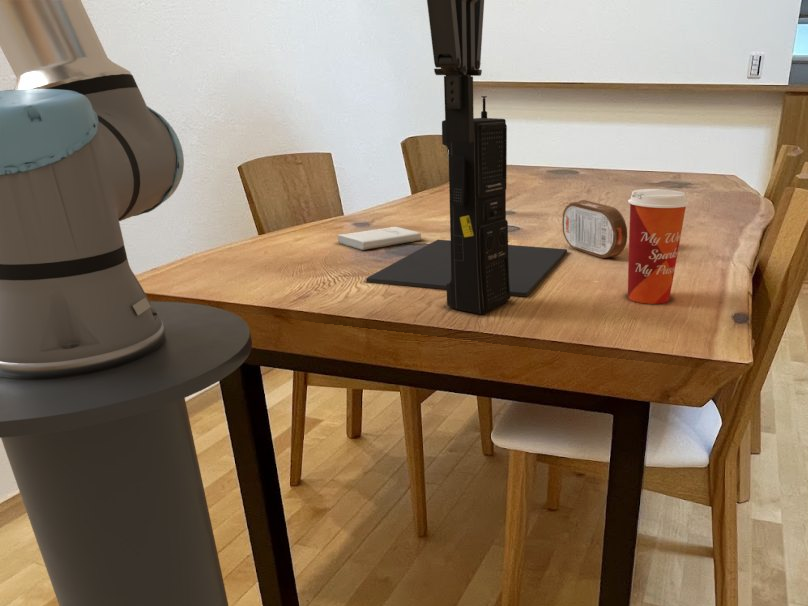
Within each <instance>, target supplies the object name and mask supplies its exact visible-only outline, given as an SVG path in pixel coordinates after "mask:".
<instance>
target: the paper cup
mask: <svg viewBox="0 0 808 606" xmlns="http://www.w3.org/2000/svg"><path fill="white" fill-rule="evenodd" d="M627 203H629V230H628V231H629V234H628V261H627V263H628V265H627V266H628V268H627V298H628V299H629V300H630V301H633V302H636V303H639V304H640V303H641V304H648V305H658V304H664V303H667V302H668V301H669V300H670V296H671V293H672V286H673V282H674V277H675V270H676V264H677V258H678V253H679V248H680V242H681V236H682V231H683V226H684V219H685V214H686V209H687V207H688V206H689V205H690V204H689V201H688V200H687V196H686V193H685V192H684V191H680V190H673V189H665V188H663V189H662V188H640V189H635V190H632V192H631V196H630V198H629V199H628V201H627Z"/></svg>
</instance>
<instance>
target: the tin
mask: <svg viewBox="0 0 808 606" xmlns="http://www.w3.org/2000/svg"><path fill="white" fill-rule="evenodd" d="M561 222H562V234H563V237H564V238H565V241H566V242H567V244H568V245H569V247H571V248H572V249H574V250H576V251H579V252H582V253H586V254H588V255H591V256H594V257H597V258H601V259H607V258H611V257H612V258H614V257H618V256H620V255H621V254H622V253H623V251H624V250H625V248H626V246H627V242H628V227H627V224H626V220H625V218H624V216H623V215H622V213H621V212H620V211H619V210H618V209H617V208H615V207H614V206H611V205H607V204H603V203H599V202H594V201H591V200H588V199H581V200H578V201H574V202H570V203H568V204H567V205H566V206H565V208H564V209H563V212H562V221H561Z"/></svg>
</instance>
